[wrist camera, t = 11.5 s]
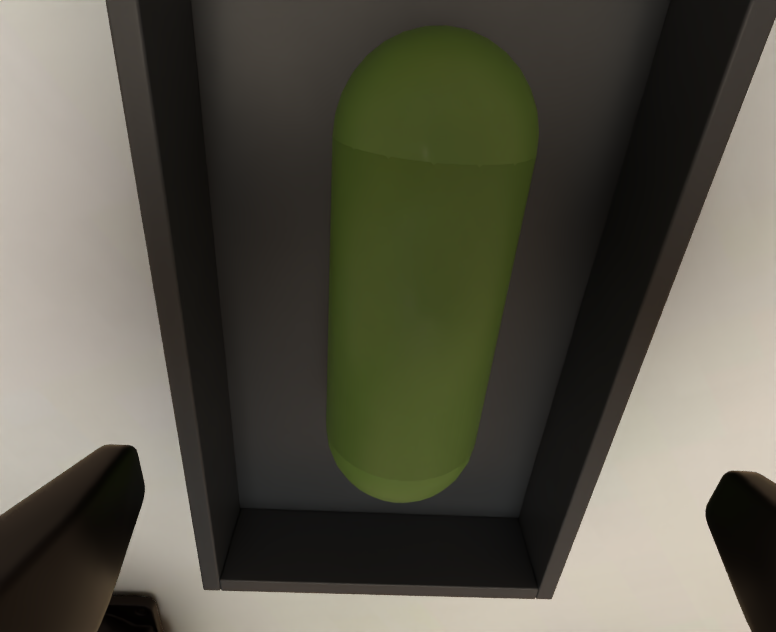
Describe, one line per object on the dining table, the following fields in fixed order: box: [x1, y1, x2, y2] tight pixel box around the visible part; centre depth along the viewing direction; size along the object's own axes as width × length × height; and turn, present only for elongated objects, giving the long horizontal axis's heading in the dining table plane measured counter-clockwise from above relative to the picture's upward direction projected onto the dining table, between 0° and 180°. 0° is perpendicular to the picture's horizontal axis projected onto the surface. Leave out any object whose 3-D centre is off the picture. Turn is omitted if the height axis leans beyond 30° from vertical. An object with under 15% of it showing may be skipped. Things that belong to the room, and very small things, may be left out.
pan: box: [106, 0, 776, 599], centre depth 14 cm, size 12×22×3 cm, turn 176°
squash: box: [326, 25, 539, 503], centre depth 13 cm, size 4×12×4 cm, turn 176°
